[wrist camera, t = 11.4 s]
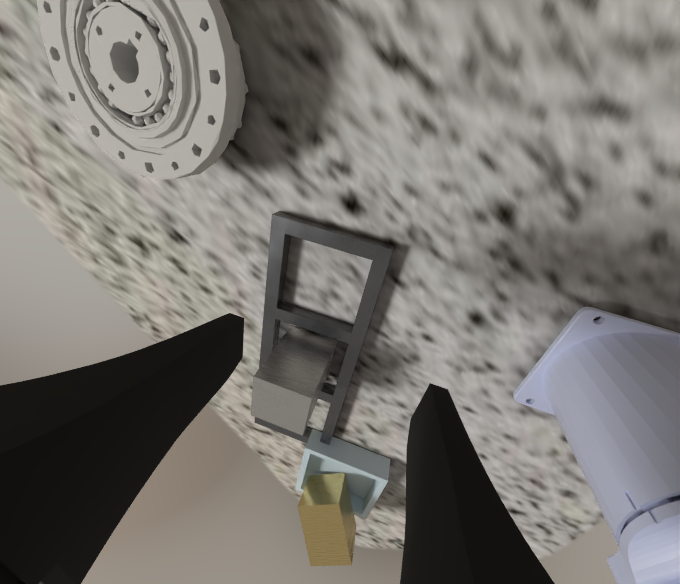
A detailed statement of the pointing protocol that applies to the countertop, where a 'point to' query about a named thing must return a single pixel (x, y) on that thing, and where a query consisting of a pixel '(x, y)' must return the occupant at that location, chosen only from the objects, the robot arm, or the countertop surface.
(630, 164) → the countertop surface
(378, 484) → the parts tray
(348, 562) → the tan wooden post
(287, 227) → the rail
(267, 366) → the grey block
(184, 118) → the mechanical component
